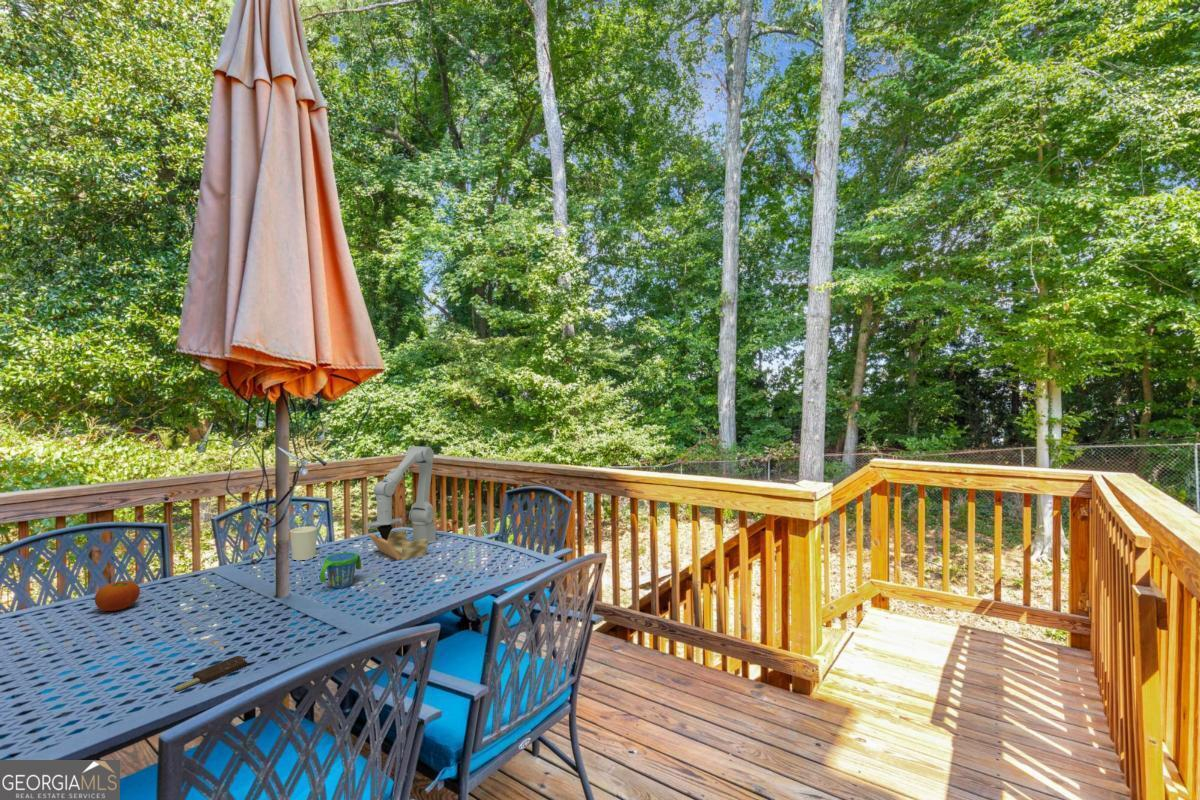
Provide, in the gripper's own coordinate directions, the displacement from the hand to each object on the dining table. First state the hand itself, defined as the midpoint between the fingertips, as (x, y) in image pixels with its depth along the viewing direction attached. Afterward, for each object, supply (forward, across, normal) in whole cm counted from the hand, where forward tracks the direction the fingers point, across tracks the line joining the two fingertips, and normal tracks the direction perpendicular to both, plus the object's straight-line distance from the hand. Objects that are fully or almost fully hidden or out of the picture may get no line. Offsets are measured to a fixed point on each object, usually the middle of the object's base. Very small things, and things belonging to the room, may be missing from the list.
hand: (384, 543), depth 218 cm
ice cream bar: (+5, -68, -62) cm, 93 cm away
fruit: (+5, -81, +6) cm, 82 cm away
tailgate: (+5, +2, 0) cm, 6 cm away
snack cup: (+6, -24, -21) cm, 33 cm away
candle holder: (+6, -24, +21) cm, 33 cm away
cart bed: (+6, +8, 0) cm, 10 cm away
